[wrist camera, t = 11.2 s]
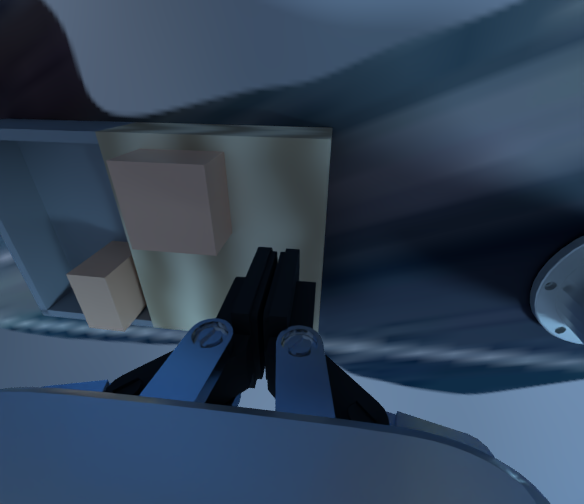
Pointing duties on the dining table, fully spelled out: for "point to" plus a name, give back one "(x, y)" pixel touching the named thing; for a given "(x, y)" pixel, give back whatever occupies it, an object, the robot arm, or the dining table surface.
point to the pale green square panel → (235, 211)
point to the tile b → (173, 199)
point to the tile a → (108, 288)
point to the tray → (56, 206)
